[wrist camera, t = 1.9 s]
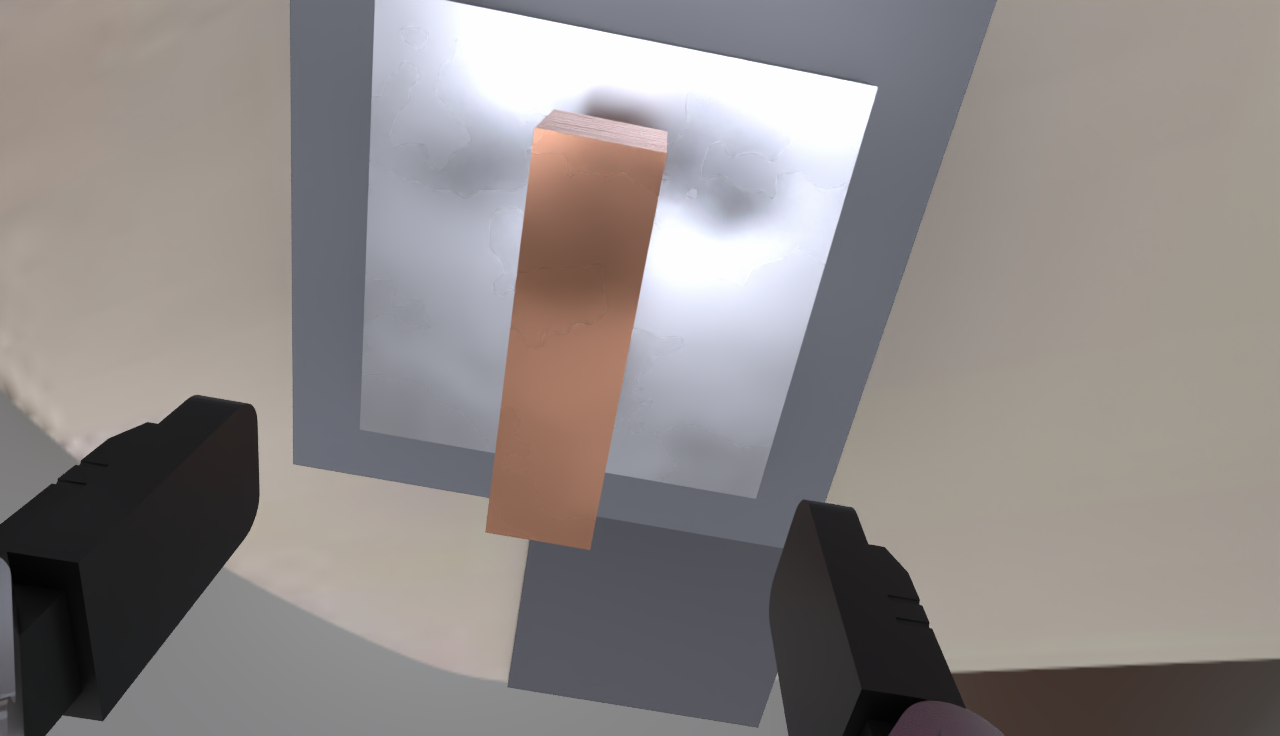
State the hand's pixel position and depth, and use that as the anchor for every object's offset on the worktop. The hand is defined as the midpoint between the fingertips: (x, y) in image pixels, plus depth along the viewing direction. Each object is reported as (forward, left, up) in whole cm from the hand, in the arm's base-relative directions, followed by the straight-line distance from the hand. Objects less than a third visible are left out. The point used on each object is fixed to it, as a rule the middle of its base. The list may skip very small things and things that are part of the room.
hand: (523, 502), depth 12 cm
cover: (0, 0, -14) cm, 14 cm away
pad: (-5, +17, -18) cm, 25 cm away
